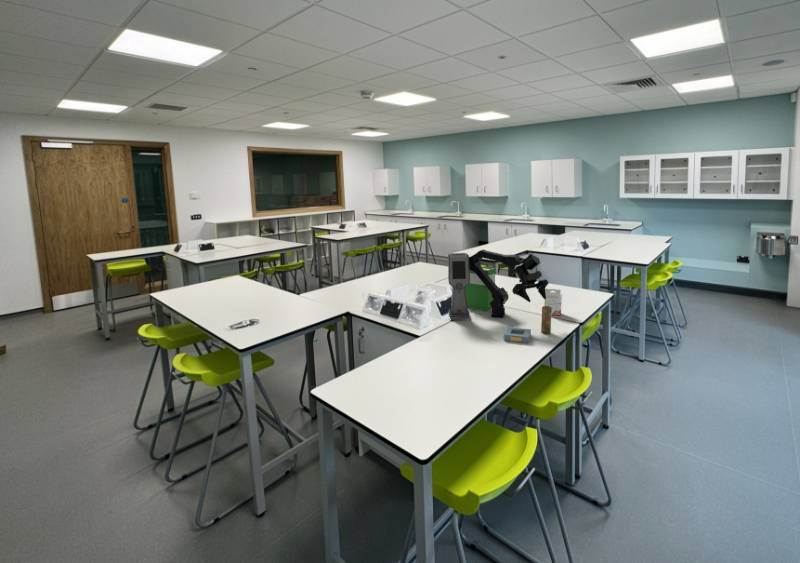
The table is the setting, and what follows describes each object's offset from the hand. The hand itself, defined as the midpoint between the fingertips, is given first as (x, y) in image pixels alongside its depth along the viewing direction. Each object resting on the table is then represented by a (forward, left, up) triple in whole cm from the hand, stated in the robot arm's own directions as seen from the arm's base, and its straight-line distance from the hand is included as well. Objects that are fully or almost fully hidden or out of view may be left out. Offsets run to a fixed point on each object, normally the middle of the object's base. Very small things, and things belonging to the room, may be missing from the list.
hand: (537, 300), depth 216 cm
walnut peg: (+5, -7, -14) cm, 16 cm away
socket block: (-7, -18, -14) cm, 24 cm away
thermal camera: (-42, +5, -14) cm, 45 cm away
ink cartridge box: (+6, +25, -14) cm, 30 cm away
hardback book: (-36, +27, -14) cm, 47 cm away
